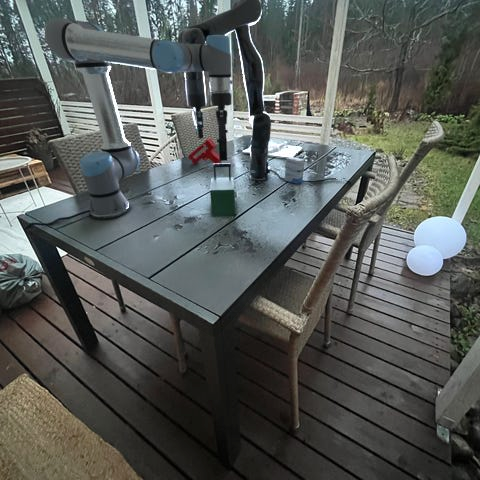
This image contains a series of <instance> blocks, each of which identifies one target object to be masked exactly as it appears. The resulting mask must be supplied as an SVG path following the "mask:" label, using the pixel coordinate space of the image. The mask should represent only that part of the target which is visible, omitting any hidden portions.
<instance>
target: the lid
mask: <svg viewBox="0 0 480 480" xmlns="http://www.w3.org/2000/svg"><path fill="white" fill-rule="evenodd" d="M212 168H213V177H211V179H210V180H211V182H210V188H209V193H226V192H234V193H235V180H234V179H235V178H234V177H232V173H231V171H232V169H231V168H232V164H231V163H220V164H215V163H213V164H212ZM216 168H228V176H227V177H217V172H216V171H217V169H216Z"/></svg>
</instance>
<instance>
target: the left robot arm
mask: <svg viewBox="0 0 480 480" xmlns="http://www.w3.org/2000/svg"><path fill="white" fill-rule="evenodd" d="M44 38H45V41H46V44H47V46H48V47H49V49H50V50H51V51H52V53H53V54H54V55H55V56H56V57H58V58H59V59H60V60H63V61H65V62H70V63H73V64H74V66H75V69H76V70H77V71H78V72H79V73H81V75H82V76H83V80H84V83H85V86H86V90H87V93H88V97H89V100H90V103H91V107H92V110H93V113H94V116H95V119H96V122H97V126H98V129H99V132H100V135H101V138H102V141H103V142H102V145H101V146H100V147H101V151H95V152H90V153H88V154H86V155H83V156H82V157H81V158H80V160H79V167H80V173H81V174H82V177H83V180H84V183H85V186H86V189H87V192H88V195H89V209H87V210H84V211H81V212H77V213H76V214H73V215H70V216H63V217H59V218H56V219H54V220H53V221H51V222H45V223H44V222H31V223H29V224H28V225H26V227H25V228H26V229H29V228H31V227H33V226H43V227H46V226H47V227H48V226H52V225H55V224H56V223H58V222H60V221H64V220H66V221H67V220H71V219H73V218H76V217H79V216H82V215H84V214H87V213H90V217H92V218H94V219H97V220H109V219H116V218H118V217H121V216H124V215H125V214H126V213H128V212H129V211H130V204H129V200H128V199H127V198H126V197H125V196H124V194H123V193H122V191H121V188H120V184H119V182H121V181H122V180H124V179H126V178H128V177H129V176H132V175H133V174H134V173H135V172H137V171H138V169H139V168H140V164H141V160H140V156H139V152H138V151H136V150H135V148H134V147H132V144H131V142H129V141H128V140H127V139H126V137H125V133H124V129H123V125H122V122H121V118H120V114H119V110H118V105H117V102H116V99H115V95H114V91H113V87H112V84H111V78H110V76H109V72H110V70H111V68H112V66H111V63H112V64H120V65H125V66H130V67H131V66H132V67H137V68H138V67H139V68H145V69H150V70H156V71H157V70H158V71H161V72H162V73H166V74H175V73H185V72H200V71H204V72H206V73H207V72H208V86H209V89H208V90H209V91H210V93H209V102H210V103H209V104H210V105H211V106H214V107H217V109H216V110H215V117H216V124H217V126H218V139H216V142H217V143H218V152H219V153H218V155H219V156H220V161H221V162H224V161H225V162H227V161H228V146H227V145H228V144H227V143H228V141H227V140H228V139H227V134H228V131H229V130H228V129H227V127H226V125H227V124H228V110H227V109H226V106H231V105H232V104H233V94H232V92H231V91H232V89H233V87H232V85H233V84H234V80H232V48H231V47H232V46H231V38H230V37H229V36H228V35H209V36H207V41H206V43H204V44H185V43H178V41H174V40H170V39H169V40H168V39H158V38H157V39H156V38H151V37H144V36H139V35H131V34H125V33H124V34H123V33H117V32H110V31H105V30H104V29H102V27H100V26H99V25H97V24H95V23H91V22H89V21H82V20H78V19H77V20H76V19H69V18H66V17H55V18H52V19H51V20H49V21H48V22H47V23H46V26H45V28H44Z"/></svg>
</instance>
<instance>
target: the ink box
mask: <svg viewBox="0 0 480 480" xmlns="http://www.w3.org/2000/svg"><path fill="white" fill-rule="evenodd" d="M305 162H306V159H304V158H299V157H296V156H294V157H289V158H287V159H286V158H285V169H284V178H285V180H284V181H285V182H289V183H293V184H295V185H298V184H300V183H303V182H302V180H304V173H305V171H304V170H305Z"/></svg>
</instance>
